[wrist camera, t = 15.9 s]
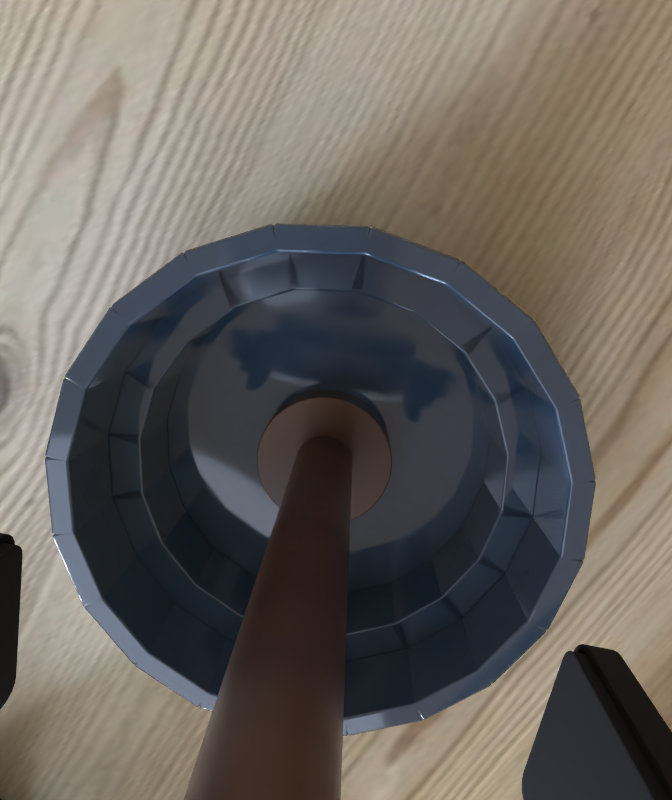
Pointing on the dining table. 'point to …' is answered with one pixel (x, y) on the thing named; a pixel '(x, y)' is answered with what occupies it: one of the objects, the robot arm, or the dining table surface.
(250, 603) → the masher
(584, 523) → the bowl
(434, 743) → the dining table surface
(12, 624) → the robot arm
